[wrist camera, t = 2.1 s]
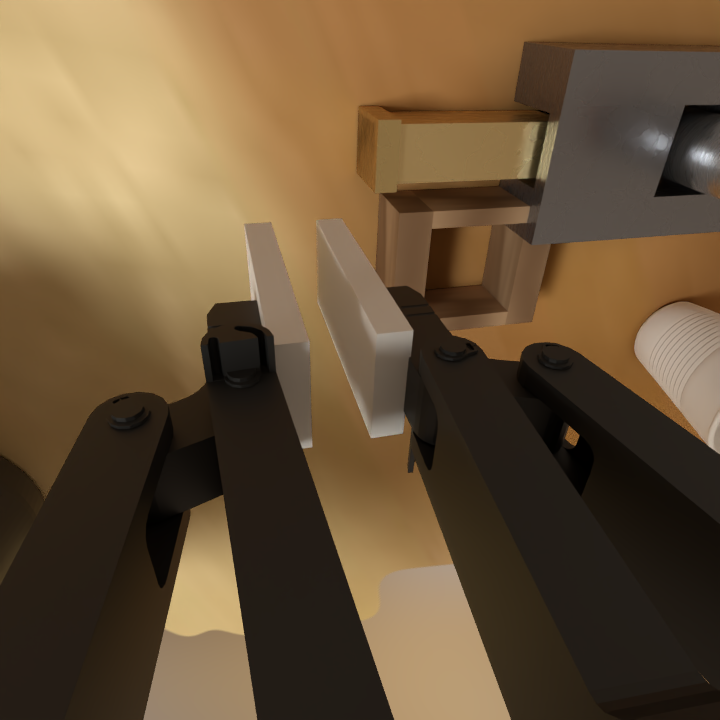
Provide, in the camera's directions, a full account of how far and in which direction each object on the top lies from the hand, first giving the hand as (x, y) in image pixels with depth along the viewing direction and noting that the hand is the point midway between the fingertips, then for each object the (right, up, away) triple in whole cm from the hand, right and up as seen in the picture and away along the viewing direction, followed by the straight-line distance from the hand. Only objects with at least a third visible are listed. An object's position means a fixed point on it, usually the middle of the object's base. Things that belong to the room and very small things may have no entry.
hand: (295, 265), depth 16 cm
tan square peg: (+7, +10, +16) cm, 20 cm away
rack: (+8, +5, +20) cm, 22 cm away
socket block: (+18, +12, +18) cm, 28 cm away
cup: (+28, 0, +30) cm, 41 cm away
